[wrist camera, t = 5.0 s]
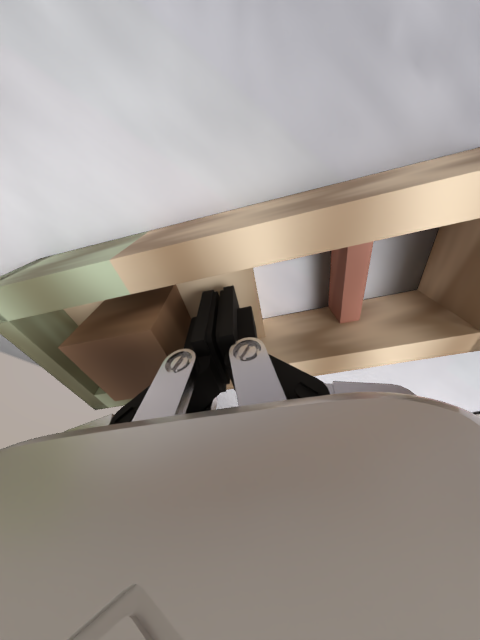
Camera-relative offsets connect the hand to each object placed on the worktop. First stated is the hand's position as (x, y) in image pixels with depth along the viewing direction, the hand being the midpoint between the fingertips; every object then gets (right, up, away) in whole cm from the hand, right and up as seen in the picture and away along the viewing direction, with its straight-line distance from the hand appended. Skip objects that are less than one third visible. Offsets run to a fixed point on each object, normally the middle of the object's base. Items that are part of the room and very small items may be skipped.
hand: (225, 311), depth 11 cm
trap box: (+2, +2, +2) cm, 3 cm away
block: (-4, 0, +1) cm, 4 cm away
